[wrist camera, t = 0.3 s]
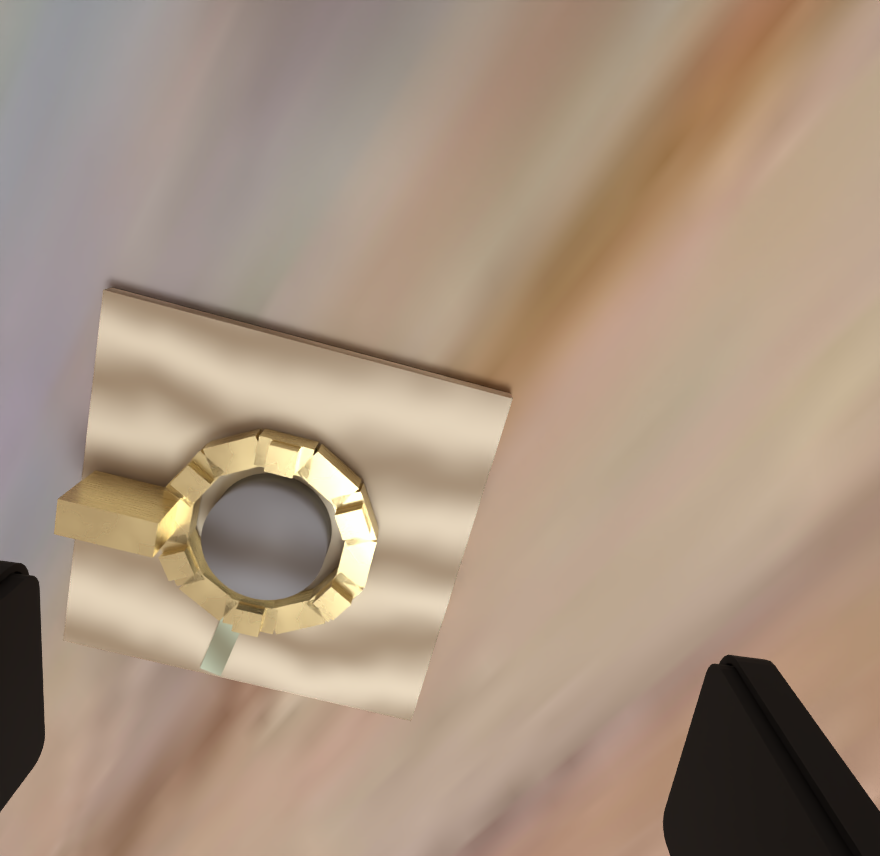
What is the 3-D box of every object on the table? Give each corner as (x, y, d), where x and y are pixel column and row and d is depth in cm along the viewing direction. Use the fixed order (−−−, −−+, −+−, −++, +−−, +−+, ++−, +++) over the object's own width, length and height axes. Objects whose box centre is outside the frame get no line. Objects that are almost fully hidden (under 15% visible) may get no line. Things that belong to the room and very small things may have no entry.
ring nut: (106, 387, 44) (66, 408, 39) (397, 462, 45) (391, 490, 41) (83, 575, 48) (45, 614, 44) (350, 639, 49) (339, 682, 45)
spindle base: (112, 287, 43) (81, 295, 40) (511, 393, 45) (516, 410, 41) (71, 630, 51) (43, 663, 48) (411, 709, 53) (409, 747, 49)
